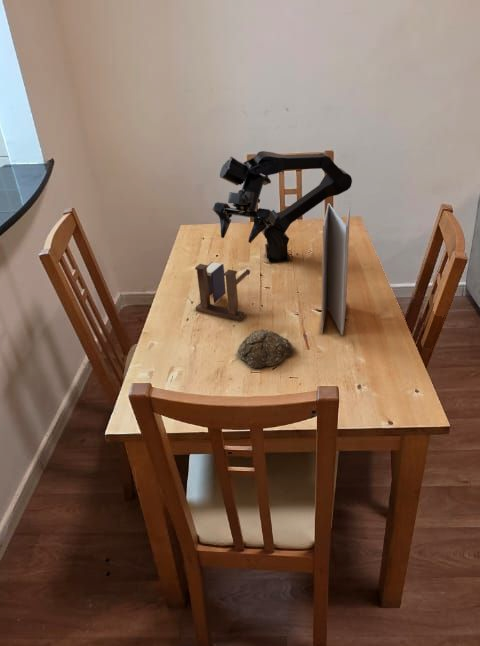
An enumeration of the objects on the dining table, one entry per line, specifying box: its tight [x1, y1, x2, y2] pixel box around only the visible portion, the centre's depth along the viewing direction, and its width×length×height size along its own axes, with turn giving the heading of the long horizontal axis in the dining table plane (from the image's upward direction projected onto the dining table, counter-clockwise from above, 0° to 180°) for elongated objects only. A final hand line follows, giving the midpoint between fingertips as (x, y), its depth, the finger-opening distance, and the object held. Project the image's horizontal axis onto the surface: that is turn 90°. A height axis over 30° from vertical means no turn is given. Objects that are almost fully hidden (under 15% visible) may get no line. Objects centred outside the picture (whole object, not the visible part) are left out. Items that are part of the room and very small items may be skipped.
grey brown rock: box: [237, 328, 293, 369], centre depth 136 cm, size 13×12×5 cm
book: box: [207, 261, 227, 304], centre depth 157 cm, size 6×4×10 cm, turn 152°
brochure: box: [320, 202, 351, 336], centre depth 141 cm, size 14×6×30 cm, turn 168°
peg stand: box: [194, 263, 251, 322], centre depth 154 cm, size 11×14×14 cm
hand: (235, 240), depth 165 cm, fingers open, 9 cm apart
